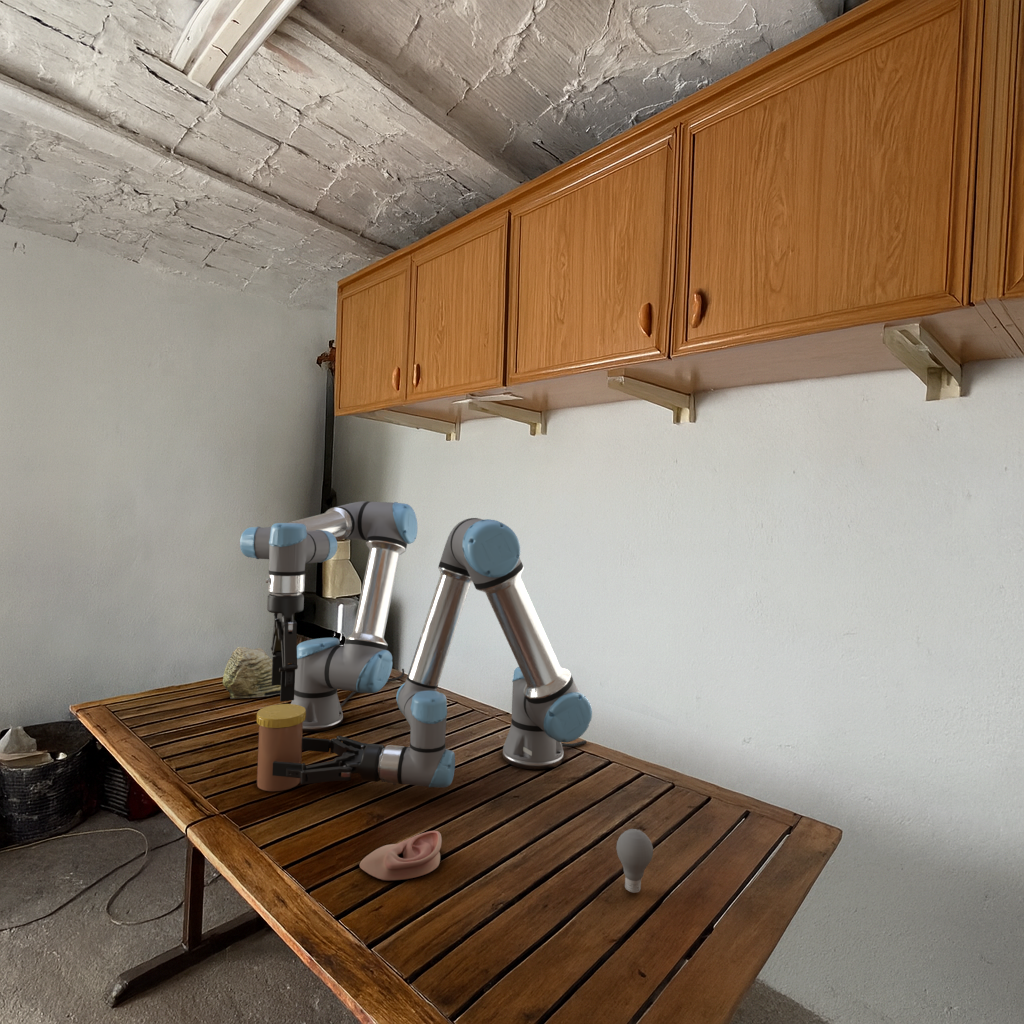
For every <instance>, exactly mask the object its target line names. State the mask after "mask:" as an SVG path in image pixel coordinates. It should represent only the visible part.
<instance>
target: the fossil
mask: <svg viewBox="0 0 1024 1024" xmlns="http://www.w3.org/2000/svg"><path fill="white" fill-rule="evenodd" d="M222 676H223V677H222V685H223V687H224V688H225V690H226V691H228V693H229V698H230V699H250V698H264V697H271V696H275V695H280V690H281V685H275V686H272V658H271V657H270V656H269V655H268V654H267V653H266V652H265V650H264V649H263V648H260V647H258V648H251V647H247V646H246V647H245V646H238V647H237V648H236V649H235V650H233V651H232V653H231V656H230V657H229V659H228V660H227V663H226V666H225V668H224V671H223V675H222Z"/></svg>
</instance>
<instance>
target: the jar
mask: <svg viewBox="0 0 1024 1024" xmlns="http://www.w3.org/2000/svg"><path fill="white" fill-rule="evenodd" d="M303 733H304V732H303V722H302V723H300V724H298V725H295V726H290V727H284V728H267V727H263V726H260V725H259V724H258V741H257V769H256V786H257V788H258V789H260V790H262V791H266V792H282V791H287V790H290V789H292V788H295V787H296V786H298V785H299V784H301V778H295V777H283V776H272V774H273V762H274V761H278V762H290V763H301V764H302V759H303V758H302V757H303V750H302V737H303Z"/></svg>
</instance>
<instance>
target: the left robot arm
mask: <svg viewBox="0 0 1024 1024" xmlns="http://www.w3.org/2000/svg"><path fill="white" fill-rule="evenodd" d="M417 537H418V519H417V514H416V512H415V510H414V508H413V507H412V506H411V505H410V504H408V503H402V502H397V501H394V502H391V501H389V502H387V501H369V500H361V501H354V502H350V503H346V504H341V505H338V506H334V507H330V508H329V509H327V510H326V511H325V512H324V513H319V514H317V515H312V516H309V517H308V516H307V517H305V518H300V519H297V520H292V521H289V522H275V523H273V524H272V525H271V526H266V527H265V526H264V527H261V526H250V527H247V528H246V529H244V531H242V533H241V535H240V539H239V548H240V551H241V553H242V554H243V555H244V556H245V557H247V558H252V559H256V560H268V561H269V562H268V577H269V578H266V579H265V583H266V584H267V585H268V586H267V587H268V588H267V592H269V594H268V595H267V600H266V601H267V603H266V604H267V607H266V609H267V612H268V613H271V614H273V627H272V628H273V629H272V638H271V647H270V650H271V655H272V658H271V659H272V686H275V685H281V690H280V694H279V702H290V701H291V702H290V704H295V705H300V706H302V707H304V708H305V709H306V718H305V720H304V721H303V733H316V732H325V731H329V730H332V729H335V728H337V727H339V726H340V725H342V723H343V722H344V714H343V709H342V707H343V706H344V705H345V704H346V703H347V702H348V700H349V699H351V698H352V697H353V696H354V695H356V694H357V693H359V694H376V693H378V692H380V691H381V690H382V689H383V688H384V687H385V685H386V684H387V683H389V682H393V681H396V680H399V679H401V678H403V677H404V676H405V668H401V675H399V676H396V677H393V678H390V676H391V673H392V669H393V664H394V663H393V655H392V653H391V652H390V651H389V650H388V645H389V644H388V643H387V641H386V640H385V633H386V627H387V622H388V618H389V613H390V607H391V602H392V597H393V591H394V587H395V582H396V577H397V571H398V565H399V561H400V556H401V555H403V554H404V553H405V552H406V551H407V546H408V545H410V544H414V542H415V540H416V539H417ZM342 540H357V541H366V542H365V545H366V546H367V548H368V550H369V553H368V557H367V563H366V567H365V572H364V577H363V581H362V586H361V590H360V595H359V601H358V605H357V610H356V614H355V620H354V624H353V629H352V633H351V634H350V635H348V636H347V637H345V640H344V644H343V645H340V644H341V643H340V642H341V641H340V639H339V638H337V637H320V638H319V637H318V638H313V639H307V640H304V641H302V642H299V643H297V642H298V638H297V637H298V636H297V630H298V629H297V626H298V623H297V621H296V620H295V619H294V614H296V613H301V612H303V611H304V607H305V606H304V605H305V603H304V602H305V595H304V594H303V593H305V583H306V565H307V564H308V565H309V564H315V563H320V564H321V563H324V562H327V561H329V560H332V558H334V557H335V556H336V554H337V551H338V547H339V546H338V541H342ZM389 678H390V679H389ZM338 690H341V691H347V692H348V691H349V692H351V693H350V694H349V695H347V697H346V698H345V699H344V700H343V702H340V699H339V695H338Z"/></svg>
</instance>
